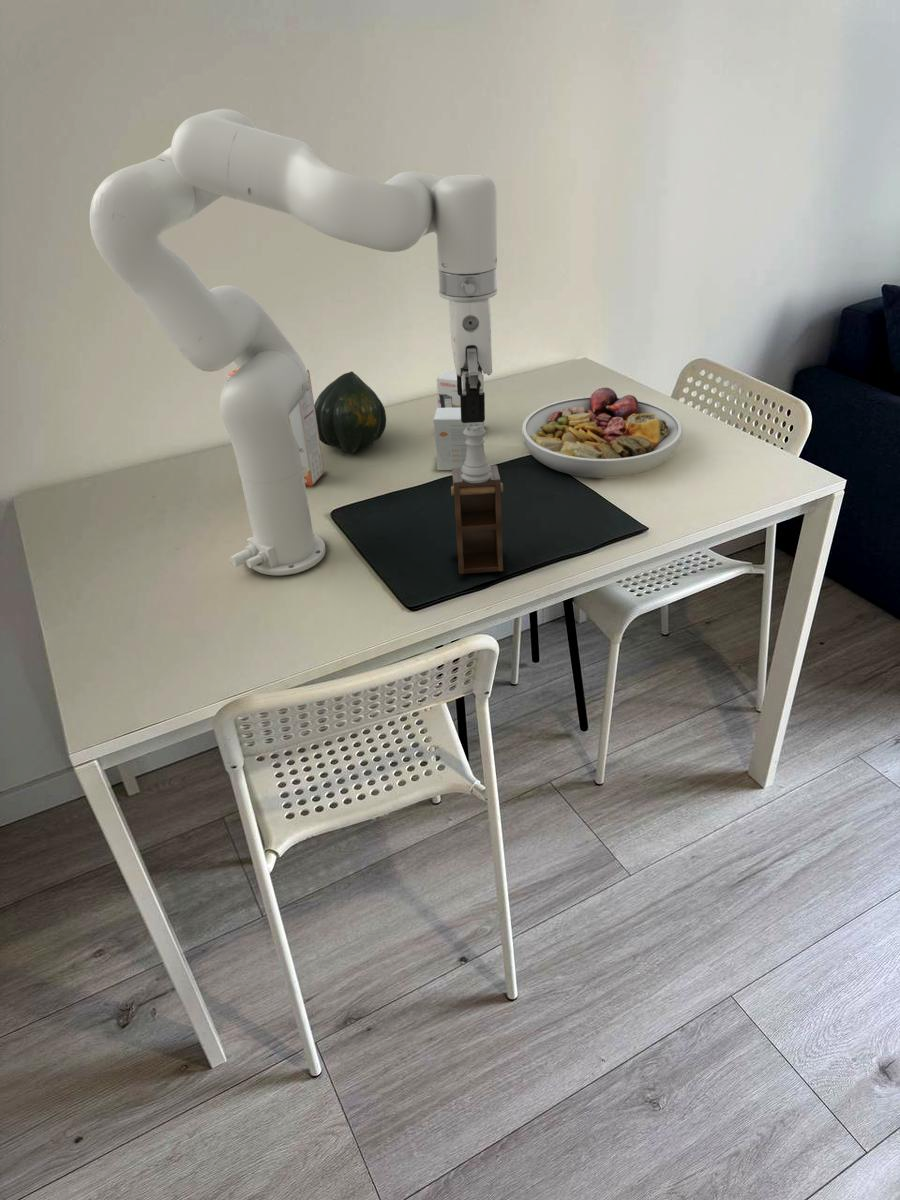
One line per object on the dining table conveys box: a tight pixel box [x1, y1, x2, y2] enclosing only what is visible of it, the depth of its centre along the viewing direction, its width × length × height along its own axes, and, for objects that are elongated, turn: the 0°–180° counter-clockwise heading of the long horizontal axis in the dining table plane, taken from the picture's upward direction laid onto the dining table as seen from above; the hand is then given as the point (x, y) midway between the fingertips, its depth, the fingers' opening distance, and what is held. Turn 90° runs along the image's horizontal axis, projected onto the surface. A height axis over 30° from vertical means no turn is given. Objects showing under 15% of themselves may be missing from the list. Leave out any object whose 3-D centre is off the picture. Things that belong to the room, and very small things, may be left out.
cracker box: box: [225, 366, 325, 487], centre depth 160 cm, size 14×6×21 cm, turn 73°
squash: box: [314, 371, 387, 454], centre depth 173 cm, size 14×15×15 cm
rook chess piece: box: [461, 423, 491, 483], centre depth 125 cm, size 4×4×8 cm
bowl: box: [521, 387, 683, 479], centre depth 166 cm, size 30×30×8 cm
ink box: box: [436, 369, 485, 429], centre depth 176 cm, size 9×5×12 cm, turn 70°
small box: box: [432, 407, 479, 471], centre depth 163 cm, size 8×6×10 cm
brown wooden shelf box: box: [450, 464, 504, 575], centre depth 132 cm, size 15×8×6 cm
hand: (470, 407), depth 121 cm, fingers open, 9 cm apart
